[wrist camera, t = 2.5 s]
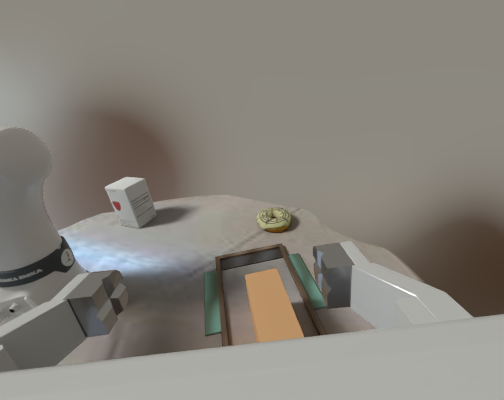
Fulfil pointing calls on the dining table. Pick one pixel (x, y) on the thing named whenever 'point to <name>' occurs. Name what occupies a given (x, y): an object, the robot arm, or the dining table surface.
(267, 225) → the decorated donut
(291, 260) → the trap lane
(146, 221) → the supplement box
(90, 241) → the dining table surface
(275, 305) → the orange block
